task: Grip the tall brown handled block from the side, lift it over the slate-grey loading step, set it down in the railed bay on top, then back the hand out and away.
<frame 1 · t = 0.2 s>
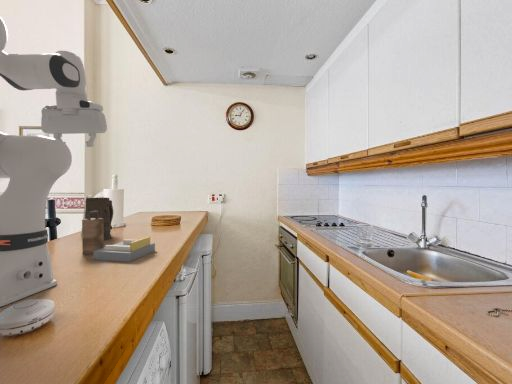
hand: (76, 147, 96), 39 cm above the worktop, tool pointing down, fingers open, 8 cm apart
beer stein: (101, 238, 137), on the worktop
dock: (126, 254, 106), on the worktop
grater: (95, 233, 149), on the worktop
brown handled block: (93, 252, 109), on the worktop
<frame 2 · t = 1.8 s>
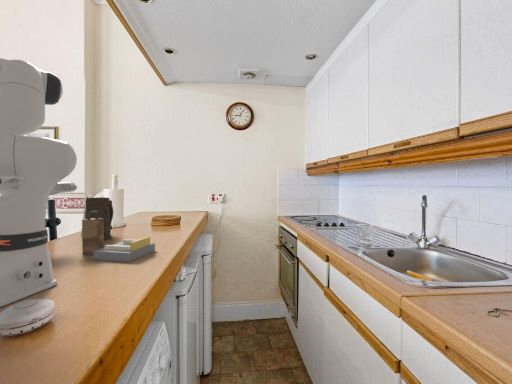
hand: (65, 187, 110), 25 cm above the worktop, tool horizontal, fingers open, 8 cm apart
nothing on the worktop moved.
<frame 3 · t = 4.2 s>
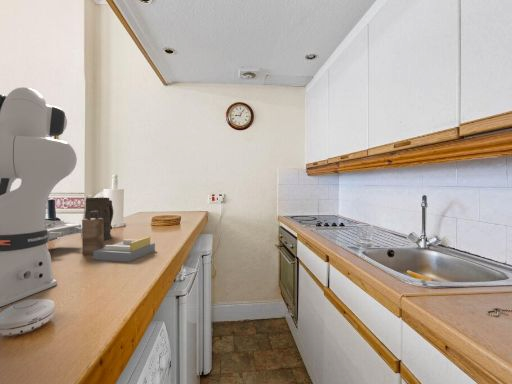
hand: (72, 232, 110), 7 cm above the worktop, tool horizontal, fingers open, 8 cm apart
nothing on the worktop moved.
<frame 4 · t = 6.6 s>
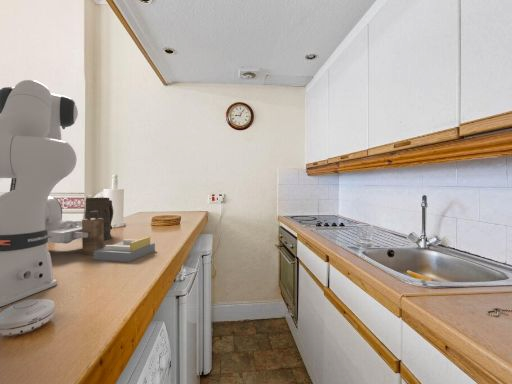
hand: (95, 233, 108), 8 cm above the worktop, tool horizontal, fingers closed on brown handled block, 5 cm apart
brown handled block: (93, 252, 109), on the worktop, touching gripper
everything else where it was.
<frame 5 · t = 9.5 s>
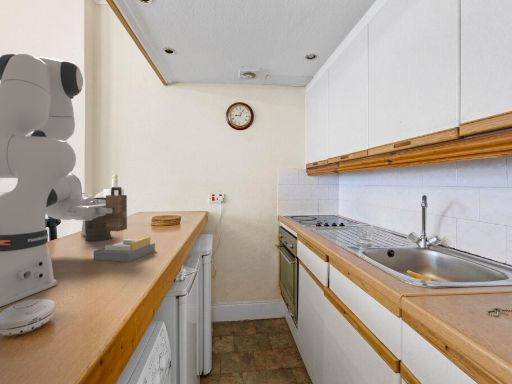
hand: (118, 209, 106), 17 cm above the worktop, tool horizontal, fingers closed on brown handled block, 5 cm apart
brown handled block: (116, 229, 106), point 9 cm above the worktop, touching gripper
everything else where it was.
when the fingers open (12 cm above the worktop, at t = 11.9 s): brown handled block drops 1 cm, resting on dock.
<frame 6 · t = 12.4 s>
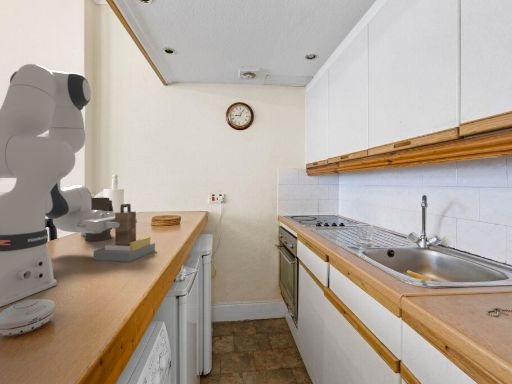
hand: (128, 222, 105), 12 cm above the worktop, tool horizontal, fingers open, 8 cm apart
brown handled block: (126, 246, 106), point 3 cm above the worktop, touching dock
everything else where it was.
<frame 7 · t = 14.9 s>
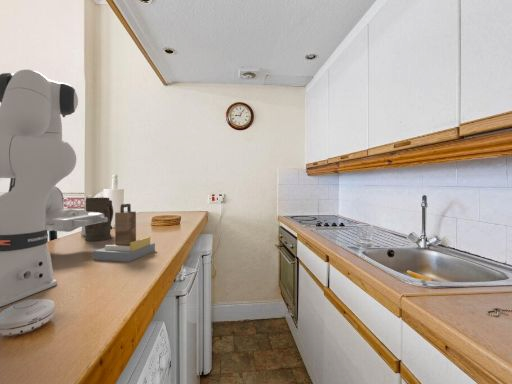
hand: (97, 221, 108), 12 cm above the worktop, tool horizontal, fingers open, 8 cm apart
nothing on the worktop moved.
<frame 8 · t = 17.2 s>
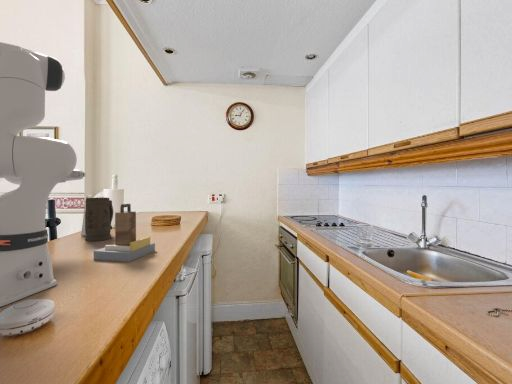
hand: (74, 174, 109), 30 cm above the worktop, tool horizontal, fingers open, 8 cm apart
nothing on the worktop moved.
at the end: brown handled block inside the target area on the dock (0.0 cm from its centre), point 3.0 cm above the dock's base; brown handled block tilted 0°; the gripper is holding nothing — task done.
